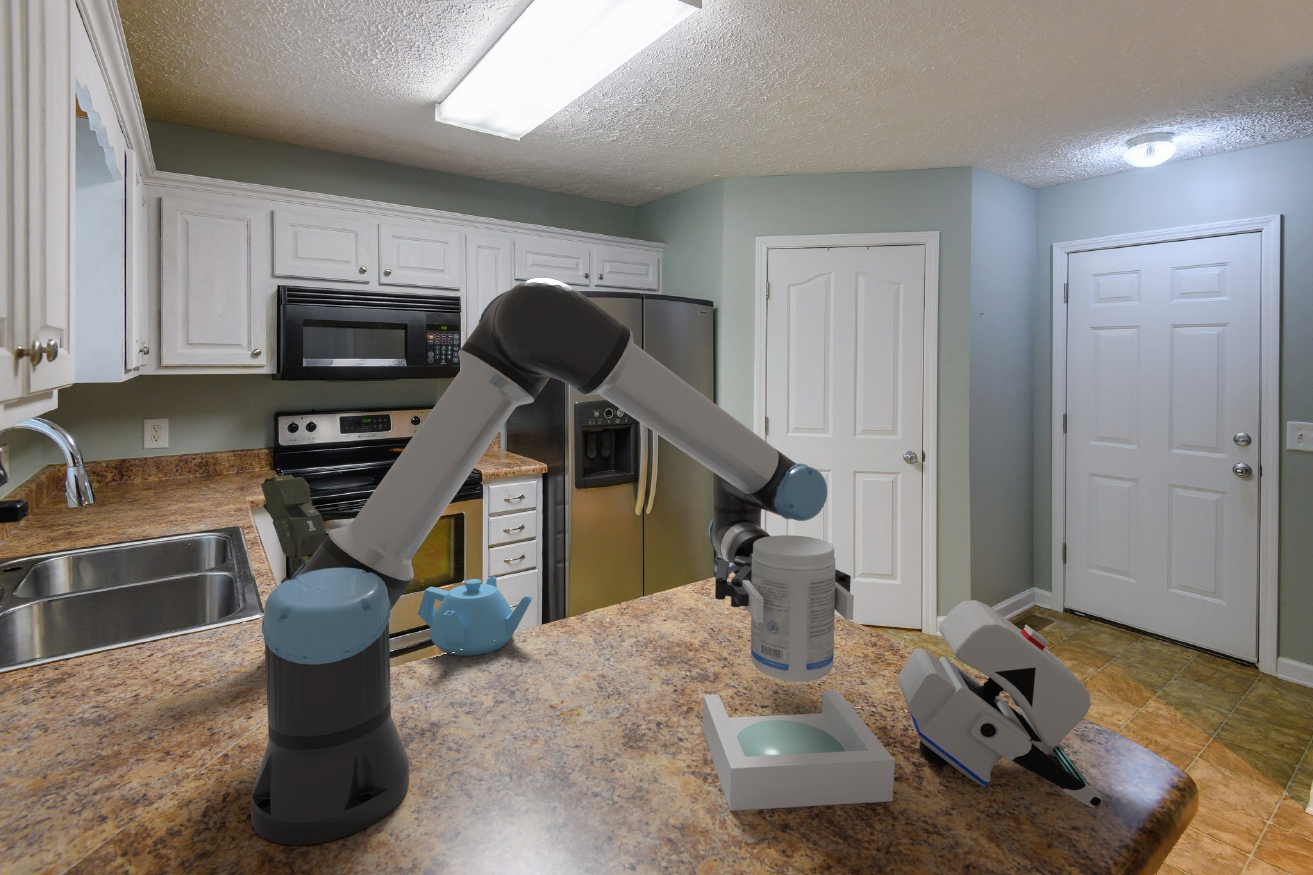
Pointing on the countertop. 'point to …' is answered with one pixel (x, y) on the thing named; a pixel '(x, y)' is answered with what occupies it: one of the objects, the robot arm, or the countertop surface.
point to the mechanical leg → (293, 518)
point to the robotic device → (996, 701)
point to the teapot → (471, 617)
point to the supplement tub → (794, 607)
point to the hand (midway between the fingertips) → (805, 609)
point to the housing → (797, 757)
